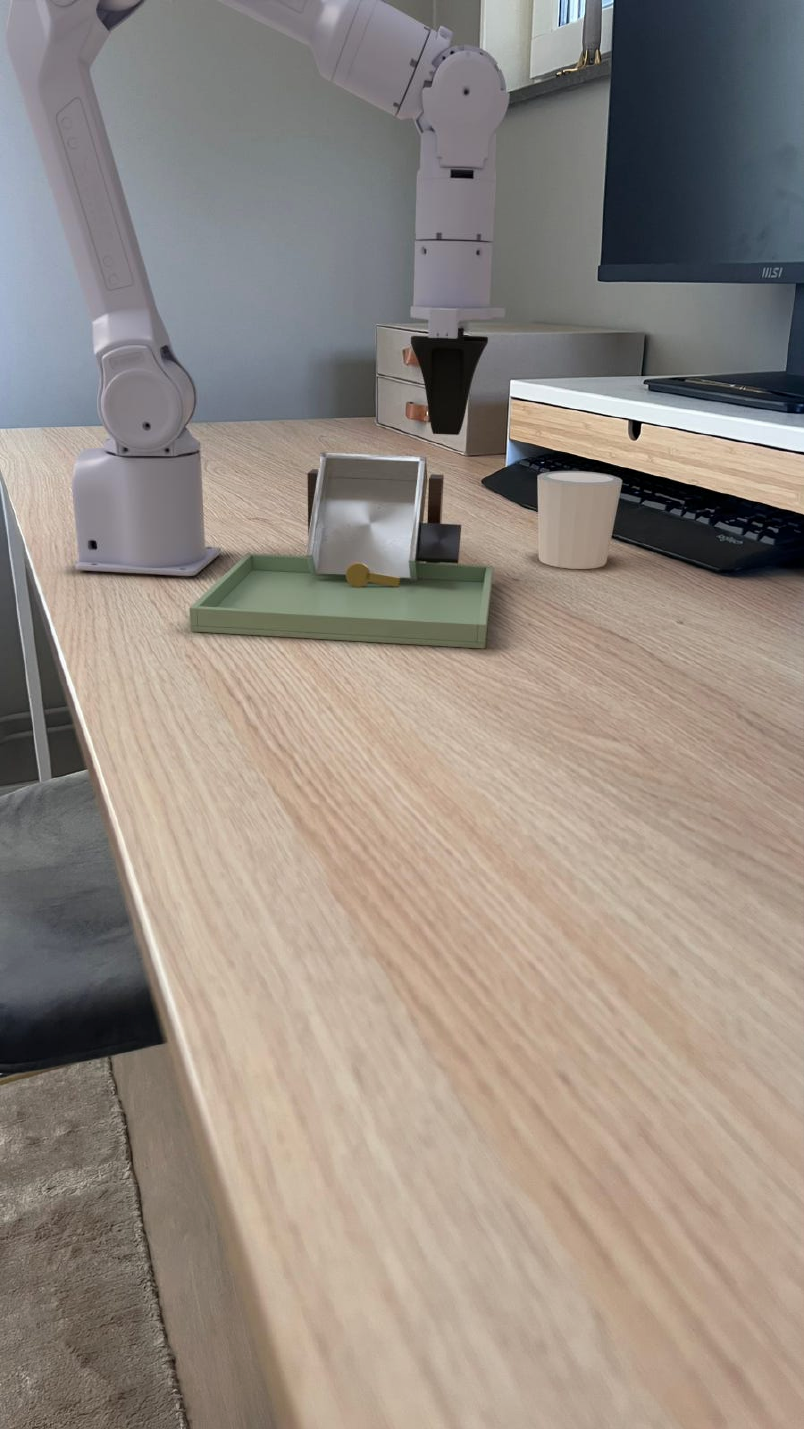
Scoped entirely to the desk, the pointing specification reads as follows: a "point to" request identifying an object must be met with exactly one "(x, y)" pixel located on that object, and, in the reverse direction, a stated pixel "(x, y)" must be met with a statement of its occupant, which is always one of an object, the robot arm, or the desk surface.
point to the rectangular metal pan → (375, 517)
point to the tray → (347, 604)
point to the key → (368, 576)
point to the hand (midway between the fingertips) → (446, 433)
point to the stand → (433, 497)
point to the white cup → (576, 517)
